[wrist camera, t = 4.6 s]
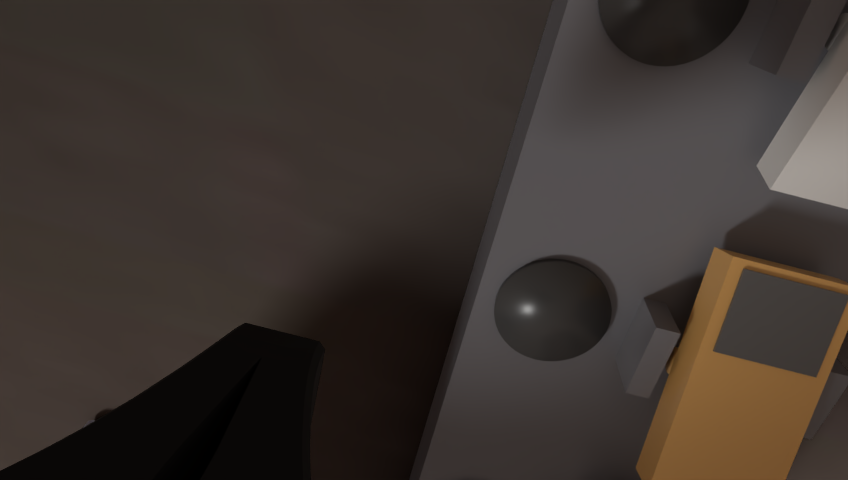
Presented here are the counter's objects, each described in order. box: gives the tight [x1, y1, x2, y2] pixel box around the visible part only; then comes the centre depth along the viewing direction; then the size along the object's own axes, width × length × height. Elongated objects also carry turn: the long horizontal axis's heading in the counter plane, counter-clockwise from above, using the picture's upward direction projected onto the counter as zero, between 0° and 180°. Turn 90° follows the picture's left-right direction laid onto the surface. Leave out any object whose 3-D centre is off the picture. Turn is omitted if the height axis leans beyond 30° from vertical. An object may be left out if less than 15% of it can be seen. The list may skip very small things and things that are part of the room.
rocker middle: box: [636, 247, 848, 480], centre depth 15 cm, size 6×3×2 cm, turn 167°
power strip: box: [409, 0, 848, 480], centre depth 17 cm, size 26×9×4 cm, turn 167°
